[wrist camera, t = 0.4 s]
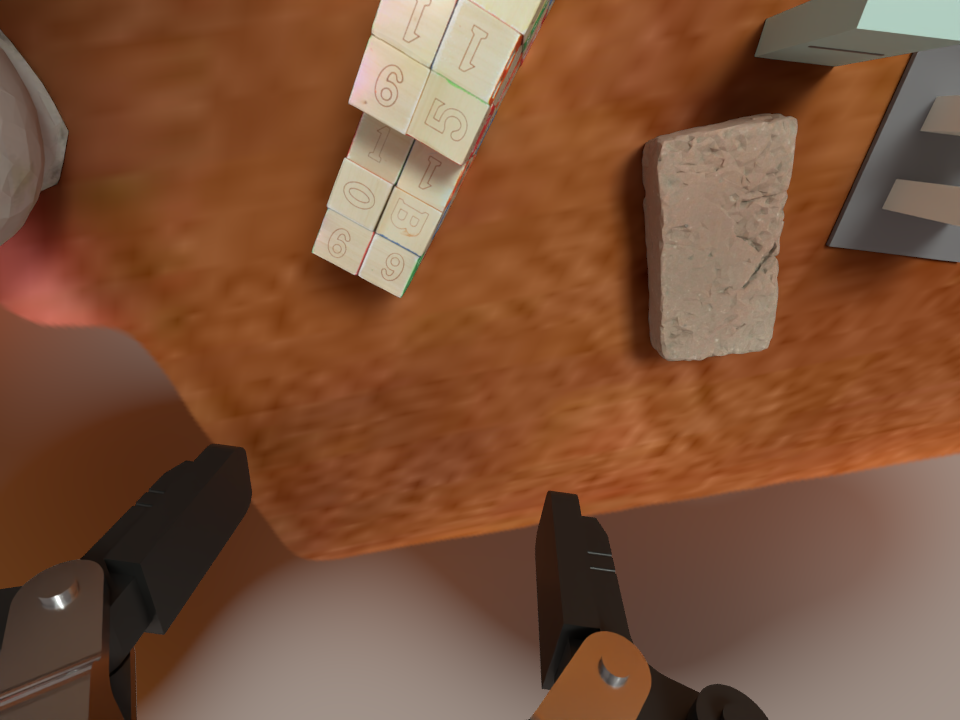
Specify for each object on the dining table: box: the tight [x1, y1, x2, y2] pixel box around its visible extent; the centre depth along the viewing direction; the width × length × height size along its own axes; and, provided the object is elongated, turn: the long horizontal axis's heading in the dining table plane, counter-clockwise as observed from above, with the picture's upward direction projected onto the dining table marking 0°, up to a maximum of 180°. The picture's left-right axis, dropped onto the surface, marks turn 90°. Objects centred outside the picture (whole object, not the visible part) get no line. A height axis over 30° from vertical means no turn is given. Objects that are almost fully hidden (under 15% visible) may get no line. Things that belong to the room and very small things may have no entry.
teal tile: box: [754, 0, 960, 66], centre depth 25 cm, size 2×5×10 cm, turn 84°
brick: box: [642, 113, 798, 361], centre depth 34 cm, size 16×8×5 cm, turn 11°
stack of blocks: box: [312, 0, 555, 298], centre depth 27 cm, size 21×6×12 cm, turn 151°
